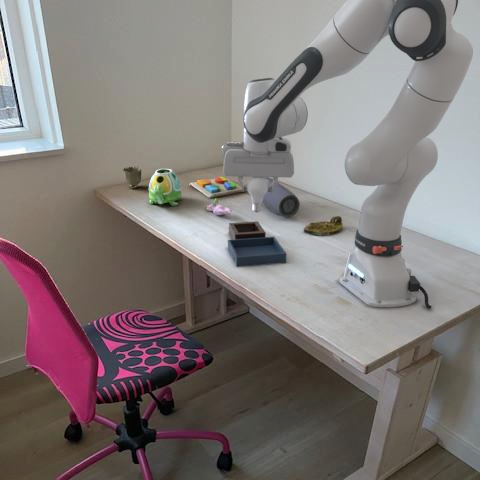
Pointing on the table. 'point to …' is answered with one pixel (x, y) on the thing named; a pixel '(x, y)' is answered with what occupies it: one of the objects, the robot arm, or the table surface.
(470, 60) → the robot arm
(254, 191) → the lightbulb
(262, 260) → the tray
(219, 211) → the rabbit figure
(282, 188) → the bluetooth speaker
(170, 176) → the turtle holder
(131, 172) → the cup
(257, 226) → the stand
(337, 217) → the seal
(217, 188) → the puzzle board
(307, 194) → the table surface
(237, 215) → the table surface
